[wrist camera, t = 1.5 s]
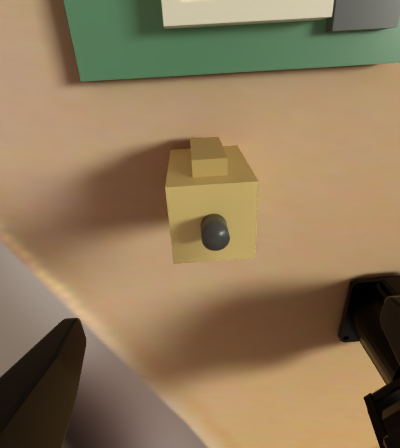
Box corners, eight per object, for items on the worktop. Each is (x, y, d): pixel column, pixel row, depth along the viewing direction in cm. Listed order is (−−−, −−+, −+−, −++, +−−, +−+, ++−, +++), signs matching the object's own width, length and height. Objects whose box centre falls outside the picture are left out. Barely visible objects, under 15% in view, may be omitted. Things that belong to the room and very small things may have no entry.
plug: (236, 205, 20) (260, 273, 14) (176, 209, 20) (173, 279, 14) (237, 131, 18) (266, 172, 12) (169, 136, 18) (161, 179, 12)
